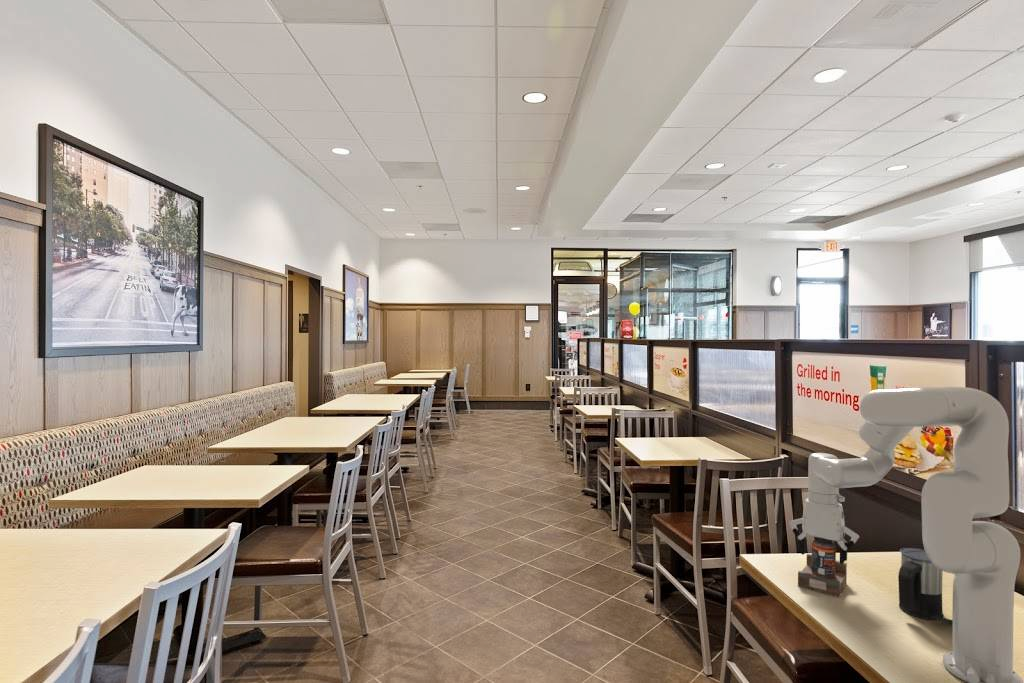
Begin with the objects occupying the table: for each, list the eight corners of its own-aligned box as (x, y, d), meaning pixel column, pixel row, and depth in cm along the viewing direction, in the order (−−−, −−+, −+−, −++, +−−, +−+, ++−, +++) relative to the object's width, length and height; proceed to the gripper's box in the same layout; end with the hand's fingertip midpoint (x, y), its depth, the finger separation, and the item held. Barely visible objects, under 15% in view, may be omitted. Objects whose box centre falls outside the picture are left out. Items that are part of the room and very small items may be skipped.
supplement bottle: (826, 581, 148) (826, 540, 148) (806, 572, 153) (806, 533, 153) (840, 577, 150) (840, 537, 150) (820, 569, 156) (820, 530, 156)
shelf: (838, 598, 144) (838, 576, 144) (797, 586, 151) (797, 565, 151) (846, 584, 153) (846, 563, 153) (807, 573, 159) (807, 553, 159)
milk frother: (901, 599, 144) (901, 544, 144) (978, 620, 134) (979, 560, 133) (894, 619, 133) (894, 560, 133) (977, 643, 123) (978, 579, 123)
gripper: (861, 500, 149) (860, 562, 149) (793, 489, 160) (792, 546, 160) (856, 507, 143) (856, 570, 143) (786, 494, 155) (785, 553, 155)
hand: (822, 557), depth 152 cm, fingers open, 9 cm apart
